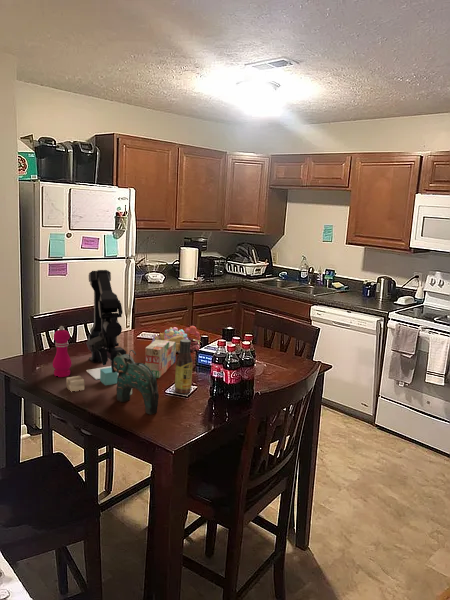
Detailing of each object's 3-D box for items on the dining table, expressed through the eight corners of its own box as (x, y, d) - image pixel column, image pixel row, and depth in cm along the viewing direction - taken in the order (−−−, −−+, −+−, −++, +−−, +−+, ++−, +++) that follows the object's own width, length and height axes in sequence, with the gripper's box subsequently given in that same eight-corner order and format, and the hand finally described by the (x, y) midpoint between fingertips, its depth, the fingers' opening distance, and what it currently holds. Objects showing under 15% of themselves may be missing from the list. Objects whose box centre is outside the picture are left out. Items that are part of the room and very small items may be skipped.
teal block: (100, 381, 196) (100, 369, 195) (112, 379, 199) (112, 367, 198) (105, 385, 192) (105, 373, 191) (117, 383, 195) (117, 371, 194)
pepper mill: (54, 378, 196) (53, 329, 192) (51, 372, 203) (50, 324, 198) (73, 376, 200) (72, 327, 195) (69, 370, 206) (69, 323, 202)
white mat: (85, 371, 206) (85, 370, 206) (111, 366, 212) (111, 365, 212) (95, 379, 197) (95, 378, 197) (122, 375, 204) (122, 374, 204)
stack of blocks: (162, 360, 225) (163, 333, 222) (175, 361, 223) (176, 335, 221) (144, 376, 204) (145, 347, 202) (159, 378, 203) (159, 349, 200)
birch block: (66, 387, 189) (66, 377, 188) (79, 385, 191) (79, 375, 191) (71, 392, 185) (70, 382, 184) (84, 390, 188) (84, 379, 187)
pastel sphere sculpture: (198, 355, 234) (199, 336, 232) (148, 352, 234) (148, 333, 232) (202, 340, 258) (203, 322, 256) (156, 337, 258) (156, 320, 256)
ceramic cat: (111, 399, 180) (111, 346, 176) (125, 394, 185) (126, 342, 181) (148, 417, 168) (150, 360, 164) (162, 411, 173) (164, 356, 169)
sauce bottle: (184, 395, 187) (186, 344, 183) (171, 391, 190) (172, 341, 186) (194, 390, 192) (196, 340, 188) (181, 386, 196) (183, 337, 191)
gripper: (79, 326, 194) (80, 364, 198) (98, 339, 179) (98, 380, 183) (107, 323, 201) (107, 360, 204) (127, 335, 186) (126, 375, 189)
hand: (108, 368), depth 195 cm, fingers open, 9 cm apart
